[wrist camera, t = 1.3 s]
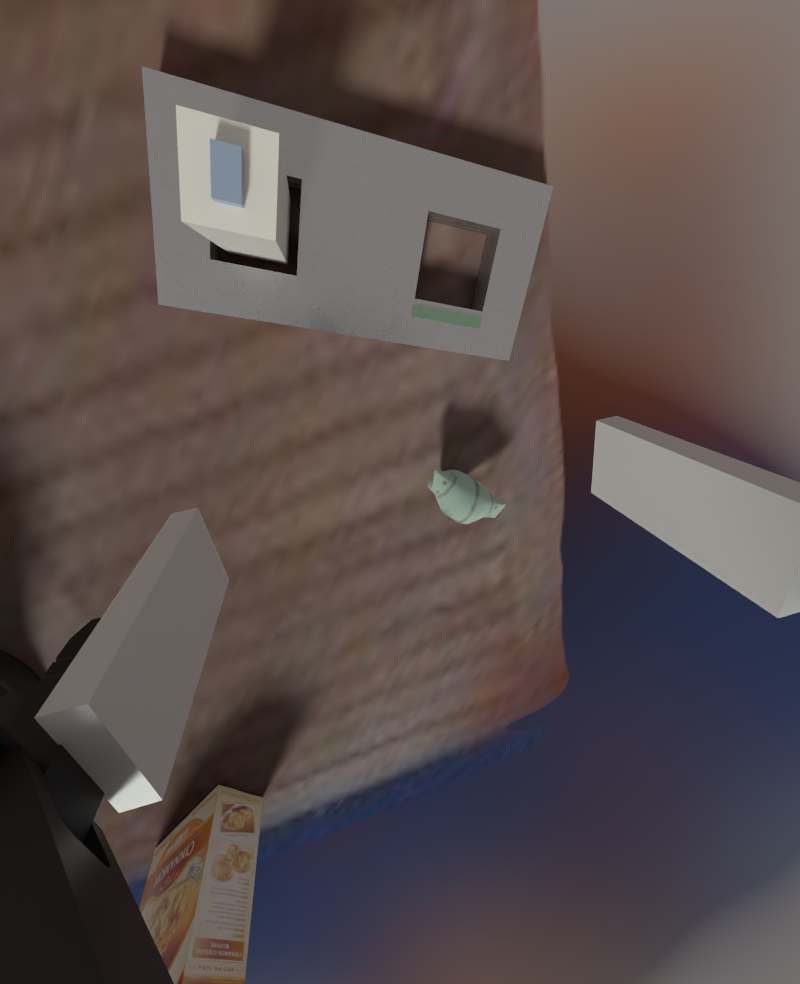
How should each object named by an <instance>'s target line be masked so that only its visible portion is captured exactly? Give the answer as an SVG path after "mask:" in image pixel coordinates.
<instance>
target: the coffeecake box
mask: <svg viewBox="0 0 800 984" xmlns="http://www.w3.org/2000/svg"><path fill="white" fill-rule="evenodd" d="M262 801H263V797H260V796H256V795H252V794H248V793H245V792H242V791H239V790H236V789H233V788H229V787H225V786H222V785H218V786H217V787H216V788H215V789H214V790H213V791H212V792H211V793H210V794H209V795H208V796H207V797H206V798H205V799H204V800H203V801H202V802H201V803H200V804H199V805H198V806H197V807H196V808H195V809H194V810H193V811H192V812H191V813H190V814H189V815H188V816H187V817H186V818H185V819H184V820H183V821H182V822H181V823H180V824H179V825H178V826H177V827H176V828H175V829H174V830H173V831H172V832H171V833H170V834H169V835H168V836H167V837H166V838H165V839H164V840H163V841H162V842H161V843H160V844H159V845H158V846H157V847H156V849H155V853H154V857H153V860H152V864H151V867H150V871H149V875H148V878H147V882H146V885H145V889H144V892H143V896H142V899H141V903H140V907H139V910H140V912H141V914H142V917H143V919H144V921H145V923H146V925H147V927H148V929H149V931H150V934H151V936H152V938H153V940H154V942H155V944H156V946H157V949H158V951H159V953H160V955H161V957H162V959H163V961H164V963H165V966H166V968H167V970H168V972H169V974H170V976H171V978H172V981H173V983H174V984H244V981H245V972H246V962H247V952H248V942H249V932H250V921H251V911H252V901H253V891H254V880H255V870H256V860H257V850H258V840H259V829H260V819H261V810H262Z"/></svg>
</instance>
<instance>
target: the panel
mask: <svg viewBox="0 0 800 984" xmlns="http://www.w3.org/2000/svg"><path fill="white" fill-rule="evenodd" d="M142 76H143V90H144V104H145V119H146V133H147V147H148V161H149V176H150V190H151V204H152V219H153V233H154V247H155V261H156V276H157V290H158V304H159V305H165V306H171V307H178V308H184V309H190V310H196V311H203V312H209V313H215V314H221V315H227V316H234V317H240V318H246V319H252V320H258V321H265V322H271V323H277V324H283V325H290V326H296V327H302V328H308V329H314V330H321V331H327V332H333V333H339V334H345V335H352V336H358V337H364V338H370V339H377V340H383V341H389V342H395V343H401V344H408V345H414V346H420V347H426V348H432V349H439V350H445V351H451V352H457V353H464V354H470V355H476V356H482V357H488V358H495V359H501V360H507V361H509V359H510V355H511V351H512V347H513V343H514V339H515V335H516V331H517V327H518V323H519V319H520V315H521V312H522V308H523V304H524V300H525V296H526V292H527V288H528V284H529V280H530V276H531V272H532V269H533V265H534V261H535V257H536V253H537V249H538V245H539V241H540V237H541V233H542V229H543V226H544V222H545V218H546V214H547V210H548V206H549V202H550V198H551V194H552V190H553V186H550V185H547V184H544V183H540V182H537V181H533V180H530V179H526V178H523V177H520V176H516V175H513V174H509V173H506V172H502V171H499V170H496V169H492V168H489V167H485V166H482V165H478V164H475V163H472V162H468V161H465V160H461V159H458V158H455V157H451V156H448V155H444V154H441V153H437V152H434V151H431V150H427V149H424V148H420V147H417V146H413V145H410V144H407V143H403V142H400V141H396V140H393V139H389V138H386V137H383V136H379V135H376V134H372V133H369V132H365V131H362V130H359V129H355V128H352V127H348V126H345V125H342V124H338V123H335V122H331V121H328V120H324V119H321V118H318V117H314V116H311V115H307V114H304V113H300V112H297V111H294V110H290V109H287V108H283V107H280V106H276V105H273V104H270V103H266V102H263V101H259V100H256V99H253V98H249V97H246V96H242V95H239V94H235V93H232V92H229V91H225V90H222V89H218V88H215V87H211V86H208V85H205V84H201V83H198V82H194V81H191V80H187V79H184V78H181V77H177V76H174V75H170V74H167V73H164V72H160V71H157V70H153V69H150V68H146V67H143V66H142ZM176 105H179V106H182V107H186V108H190V109H193V110H197V111H201V112H204V113H208V114H211V115H215V116H219V117H222V118H226V119H230V120H233V121H237V122H240V123H244V124H248V125H251V126H255V127H259V128H262V129H266V130H269V131H273V132H277V133H279V134H280V140H281V146H282V152H283V158H284V164H285V170H286V176H287V181H288V186H291V187H295V188H299V189H301V205H300V224H299V243H298V262H297V276H295V275H290V274H285V273H279V272H274V271H269V270H264V269H259V268H253V267H248V266H243V265H238V264H232V263H227V262H222V261H218V245H216V244H215V243H213V242H212V241H210V240H209V239H207V238H206V237H204V236H203V235H201V234H200V233H198V232H197V231H195V230H194V229H192V228H191V227H189V226H188V225H186V224H185V223H183V222H182V221H181V208H180V187H179V165H178V143H177V122H176ZM427 220H429V221H433V222H438V223H442V224H446V225H450V226H454V227H458V228H462V229H466V230H470V231H474V232H478V233H482V234H486V235H487V237H486V241H485V246H484V251H483V256H482V260H481V265H480V270H479V275H478V279H477V284H476V289H475V294H474V298H473V303H472V308H471V309H467V308H462V307H457V306H451V305H446V304H441V303H436V302H430V301H425V300H420V299H415V294H416V287H417V281H418V275H419V268H420V262H421V256H422V249H423V243H424V237H425V230H426V224H427Z"/></svg>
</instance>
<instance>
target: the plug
mask: <svg viewBox="0 0 800 984" xmlns="http://www.w3.org/2000/svg"><path fill="white" fill-rule="evenodd" d="M176 122H177V143H178V165H179V187H180V208H181V221H182V222H183V223H185V224H186V225H188V226H189V227H191V228H192V229H194V230H195V231H197V232H198V233H200V234H201V235H203V236H204V237H206V238H207V239H209V240H210V241H212V242H213V243H215V244H216V245H218V246H219V247H221V248H222V249H224V250H225V251H227V252H228V253H231V254H236V255H241V256H246V257H251V258H256V259H261V260H267V261H272V262H277V263H282V264H287V265H288V248H289V225H290V202H291V199H290V193H289V187H288V181H287V176H286V170H285V164H284V158H283V152H282V146H281V140H280V134H279V133H277V132H273V131H269V130H266V129H262V128H259V127H255V126H251V125H248V124H244V123H240V122H237V121H233V120H230V119H226V118H222V117H219V116H215V115H211V114H208V113H204V112H201V111H197V110H193V109H190V108H186V107H182V106H179V105H176Z"/></svg>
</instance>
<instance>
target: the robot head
mask: <svg viewBox="0 0 800 984" xmlns="http://www.w3.org/2000/svg"><path fill="white" fill-rule="evenodd" d="M428 487H429V489H430V490H431V491H432V492H433V493H434V494H435V496H436V499H437V501H438V504H439V506H440V509H441V511H442V512H443V513H444V515H445V516H446V517H447V518H448V519H450V520H452V521H454V522H456V523H461V524H469V523H471V522H474V521H476V520H479V519H481V518H483V517H492V518H495V517H496V516H497V515H498V514H499V513H500V511H501V510H502V509H503V508H504V507H505V506H506V504H505V503H503V502H502V501H501V500H500V499H498V498H497V497H496V496H495V495H493V494H492V493H491V492H490V491H489V490H488V489H487V488H486V487H485V486H484V485H483V484H481V483H480V482H478V481H477V480H475V479H474V478H472V477H470V476H469V475H467V474H465V473H463V472H460V471H458V470H447V471H438V470H434V473H433V475H432V478H431V480H430V482H429V485H428Z"/></svg>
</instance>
